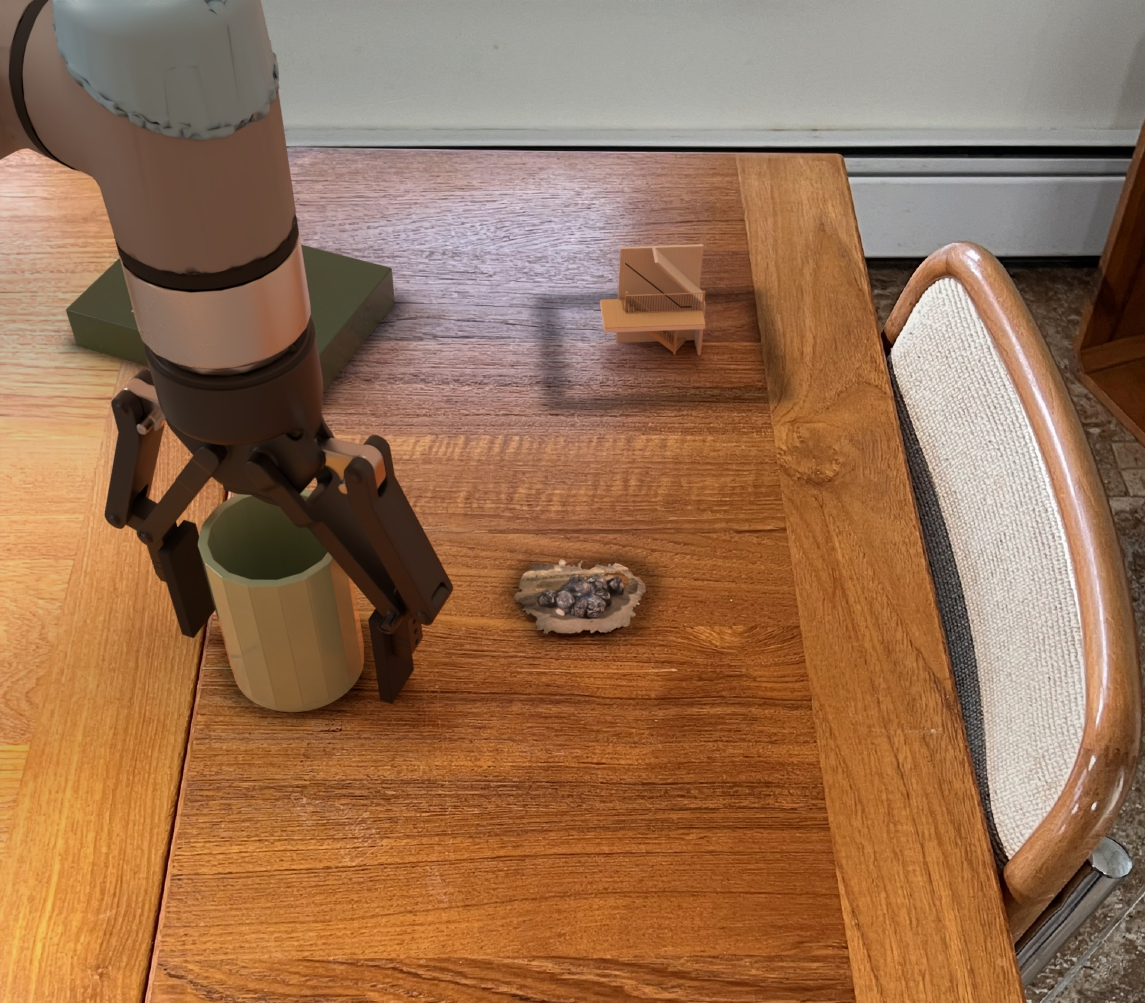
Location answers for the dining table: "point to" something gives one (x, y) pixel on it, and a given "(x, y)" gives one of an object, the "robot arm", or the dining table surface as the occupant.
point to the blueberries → (579, 597)
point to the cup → (280, 606)
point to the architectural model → (658, 296)
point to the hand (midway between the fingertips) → (297, 652)
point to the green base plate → (337, 301)
